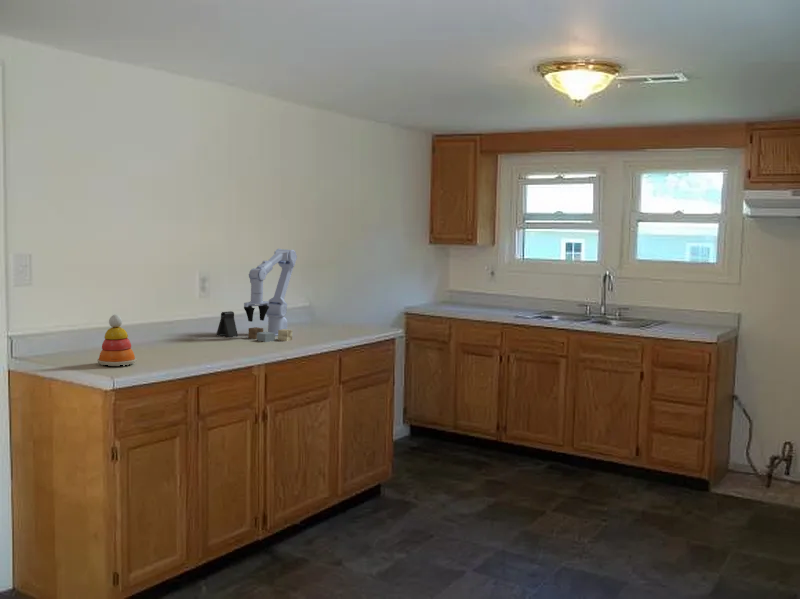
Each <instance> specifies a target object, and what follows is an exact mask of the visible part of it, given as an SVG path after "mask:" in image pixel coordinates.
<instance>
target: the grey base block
mask: <svg viewBox="0 0 800 599" xmlns="http://www.w3.org/2000/svg"><path fill="white" fill-rule="evenodd" d="M257 340H258V341H257ZM275 340H276V336H275V333H271V332H268V331H263V332H259V333H257V339H256V341H257V342H261V341H263V343H269V342H270V341H271V342H275ZM271 342H270V343H271Z"/></svg>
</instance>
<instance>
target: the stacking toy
mask: <svg viewBox="0 0 800 599" xmlns="http://www.w3.org/2000/svg"><path fill="white" fill-rule="evenodd" d="M122 324H123V320H122V317H121V316H120V315H118V314H112V315H111V316H110V317H109V319H108V325H109V326H111V327H110V328H108V329H107V330H106V332H105V334H104V340H103V342H102V344H101V349H102V350H101V351H100V352H99V357H98V358H97V363H98V364H99V365H101V366H103V365H108V366H107V367H121V366H120V365H127V366H129V364H130V365H133V364H135V363H136V362H137V358H136V357H135V352H134V351H133V349H132V344H131V341H130V339H129V336H128V332H127V331H126V330H125V329H124V328H123V327H121V326H122Z"/></svg>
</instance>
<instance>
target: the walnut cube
mask: <svg viewBox="0 0 800 599" xmlns="http://www.w3.org/2000/svg"><path fill="white" fill-rule="evenodd" d="M259 332H264V328H263V327H255V326H254V327H248V334H247V335H248V339H251V338H253V339H252V340H257V333H259Z"/></svg>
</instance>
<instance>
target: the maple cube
mask: <svg viewBox="0 0 800 599" xmlns="http://www.w3.org/2000/svg"><path fill="white" fill-rule="evenodd" d="M280 340H281V341H282V342H290V341H292V340H293V329H288V328H287V329H282V330H278V336H277V341H280ZM281 341H280V342H281Z"/></svg>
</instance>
